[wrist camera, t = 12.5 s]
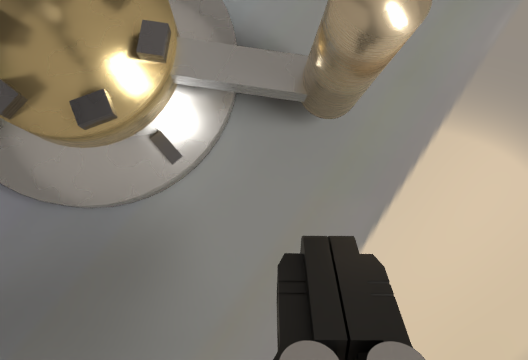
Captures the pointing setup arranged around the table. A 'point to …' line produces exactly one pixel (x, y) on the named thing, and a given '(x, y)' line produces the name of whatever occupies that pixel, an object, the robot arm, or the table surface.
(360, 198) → the table surface
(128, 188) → the plate
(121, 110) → the crank handle
